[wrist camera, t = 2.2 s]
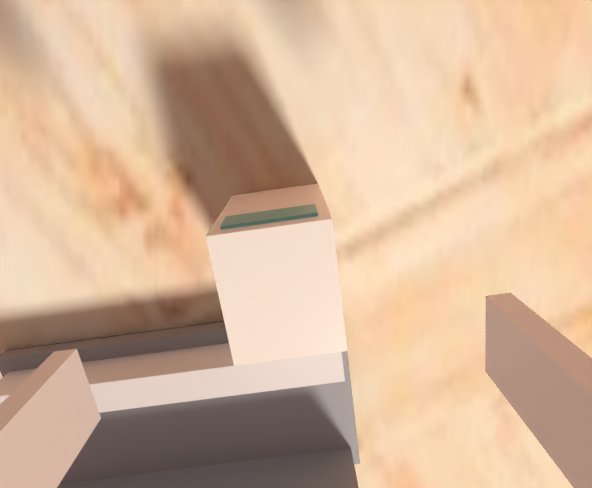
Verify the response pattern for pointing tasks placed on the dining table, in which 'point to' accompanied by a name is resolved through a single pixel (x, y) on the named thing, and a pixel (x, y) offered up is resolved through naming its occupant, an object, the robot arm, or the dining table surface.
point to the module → (278, 275)
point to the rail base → (205, 413)
